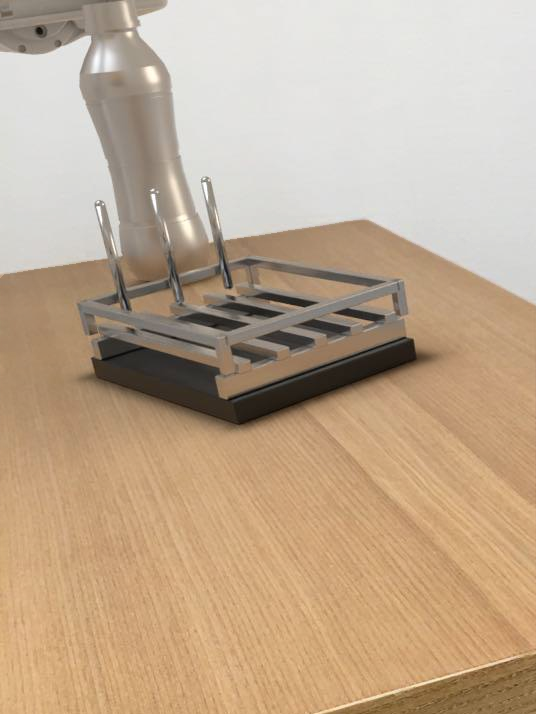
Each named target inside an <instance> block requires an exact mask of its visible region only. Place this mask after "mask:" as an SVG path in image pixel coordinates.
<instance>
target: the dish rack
mask: <svg viewBox="0 0 536 714" xmlns="http://www.w3.org/2000/svg"><path fill="white" fill-rule="evenodd" d="M200 184H201V189H202V193H203V198H204V204H205V207H206V212H207V216H208V221H209V225H210V229H211V230H210V231H211V235H212V239H213V244H214V249H215V253H216V258H217V262H218V263H213V264H210V265H207V266H206V267H203V268H199V269H195V270H192V271H188V272H184V273H181V274H179V273H178V269H177V265H176V260H175V256H174V252H173V248H172V243H171V239H170V235H169V230H168V226H167V222H166V217H165V213H164V209H163V204H162V200H161V196H160V192H159V190H158V189H157V188H152V189H150V191H149V194H150V199H151V203H152V207H153V211H154V216H155V220H156V224H157V228H158V233H159V237H160V241H161V245H162V250H163V254H164V258H165V262H166V267H167V271H168V275H169V277H166V278H162V279H159V280H155V281H148V282H145V283H141V284H137V285H134V286H130V287H127V285H126V282H125V277H124V274H123V273H124V272H123V269H122V265H121V260H120V257H119V252H118V249H117V246H116V245H117V244H116V241H115V237H114V233H113V230H112V225H111V221H110V218H109V214H108V210H107V206H106V205H107V204H106V203H105V201H104V200H101V199H97V200H95V202H94V206H93V207H94V209H95V213H96V217H97V221H98V225H99V229H100V233H101V236H102V240H103V244H104V249H105V253H106V256H107V261H108V264H109V268H110V272H111V276H112V280H113V284H114V289H115V291H111V292H108V293H104V294H101V295H96V296H93V297H89V298H85V299H81V300H78V301H76V306H77V310H78V313H79V318H80V321H81V324H82V328H83V332H84V335H85V336H88V337H91V336H95V335H97V334H99V335H100V336H97V337H94V338H91V339H90V344H91V347H92V351H93V355H94V356H92V357H90V360H91V364H92V368H93V372H94V374H95V377H97V378H100V379H103V380H105V381H109V382H112V383H114V384H118V385H121V386H123V387H126V388H130V389H133V390H135V391H138V392H142V393H145V394H147V395H149V396H152V397H153V396H154V397H156V398H159V399H162V400H165V401H168V402H172V403H174V404H177V405H181V406H183V407H186V408H189V409H192V410H195V411H198V412H201V413H204V414H207V415H210V416H212V417H215V418H219V419H222V420H225V421H228V422H230V423H234V424H237V425H240V424H243V423H245V422H249V421H251V420H253V419H257V418H259V417H261V416H264V415H267V414H270V413H272V412H276V411H278V410H281V409H284V408H286V407H289V406H292V405H294V404H297V403H300V402H302V401H305V400H307V399H311V398H314V397H316V396H319V395H322V394H324V393H327V392H329V391H333V390H335V389H337V388H341V387H343V386H346V385H348V384H351V383H354V382H357V381H360V380H362V379H364V378H367V377H370V376H373V375H376V374H378V373H382V372H383V371H386V370H389V369H392V368H394V367H398V366H400V365H403V364H405V363H409V362H410V361H413V360H416V359H417V352H416V346H415V345H416V344H415V339H414V338H412V337H407V329H406V321H405V318H404V316H407V315H409V307H408V300H407V294H406V287H405V286H406V285H405V280H404V279H402V278H397V277H389V276H384V275H378V274H373V273H365V272H361V271H360V272H359V271H352V270H346V269H342V268H341V269H340V268H334V267H330V266H329V267H328V266H322V265H316V264H309V263H304V262H297V261H291V260H285V259H279V258H273V257H266V256H261V255H255V254H247V255H243V256H240V257H236V258H232V259H228V254H227V248H226V244H225V240H224V235H223V229H222V225H221V221H220V216H219V212H218V207H217V202H216V198H215V194H214V193H215V192H214V187H213V184H212V180H211V178H210V177H209V176H202V177H201V179H200ZM241 269H244V270H245V271H244V272H245V275H246V280H247V282H242V283H238V284H235V291H236V294H237V295H230V294H226V293H221V292H216V291H211V292H210V291H209V292H206V293H204V294H202V298H203V303H204V304H206V305H198V304H193V303H189V302H185V295H184V291H183V286H185V285H187V284H190V283H196V282H198V281H202V280H205V279H209V278H212V277H216V276H219V275H220V276H221V282H222V286H223V288H224V289H225V290H226V291H231V290H232V289H233V288H234V282H233V278H232V273H231V272H234V271H237V270H241ZM258 269H262V270H263V269H264V270H269V271H273V272H281V273H284V274H285V273H286V274H292V275H298V276H303V277H310V278H316V279H321V280H327V281H332V282H337V283H343V284H349V285H355V286H361V287H366V288H363V289H359V290H356V291H353V292H349V293H346V294H344V295H340V296H336V297H333V298H328V297H324V296H319V295H313V294H307V293H302V292H297V291H292V290H286V289H282V288H277V287H270V286H265V285H261V280H260V275H259V270H258ZM170 289H171V292H172V296H173V300H174V302H172V303H169V304H168V307H169V313H170V315H169V316H165V315H160V314H157V313H153V312H149V311H141V312H137V311H133V309H132V305H131V300H134V299H137V298H140V297H145V296H148V295H152V294H155V293H158V292H162V291H166V290H170ZM390 295H391V300H392V306H393V310H391V309H386V308H382V307H381V308H380V307H376V306H371V305H366V303H368V302H371V301H374V300H378V299H380V298H384V297H387V296H390ZM271 302H275V303H280V304H285V305H290V306H295V307H299V309H298V308H294V307H290V306H284V305H279V304H274V303H271ZM364 303H365V304H364ZM116 304H119V307H117V306H113V305H116ZM330 314H334V315H338V316H343V317H347V318H352V319H353V318H354V319H358V320H363V321H368V322H371V323H368V324H366V325H363V323H362V321H357V320H351V319H346V318H341V317H337V316H332V315H330ZM95 317H99V318H103V319H106V320H110V321H113V322H110V321H107V322H103V323H100V324H97V322H96V319H95ZM115 322H117V323H115ZM118 323H121V324H118ZM123 324H125V325H123ZM127 325H129V326H127ZM130 326H131V327H130Z"/></svg>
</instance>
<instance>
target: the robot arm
mask: <svg viewBox="0 0 536 714" xmlns="http://www.w3.org/2000/svg"><path fill="white" fill-rule="evenodd" d="M116 1H124V0H0V52H2V53H13V54H22V55H34V56H36V55H44V54H48V53H49V54H50V53H51V52H54V51H56V50H58V49H59V48H61V47H65V46H68V45H70V44H72V43H74V42H77V41H78V40H80V39H82V38H85V37H87V36H91V34H90V33H89V32H88V33H86V32H85V28H84V26H85V21H84V17H83V12H82V5H90V4H98V3H107V2H116ZM133 1H134V3H135V8H136V12H137V17H142V16H146V15H148V14H152V13H154V12H157V11H160V10H163V9H165V8H166V7H167V6H168V3H169V0H133Z"/></svg>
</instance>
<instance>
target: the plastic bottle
mask: <svg viewBox="0 0 536 714" xmlns="http://www.w3.org/2000/svg"><path fill="white" fill-rule="evenodd" d="M82 12H83V17H84V21H85V26H84V28H85V32H86V33H88V32H89V33H90V34H91V35H90V45H89V46H88V49H87V52H86V54H85V56H84V58H83V62H82V64H81V68H80V70H79V80H78V81H79V84H78V85H79V90H80V93H81V96H82V99H83V100H84V102H85V106H86V109H87V112H88V114H89V117H90V119H91V122H92V124H93V126H94V129H95V131H96V134H97V137H98V139H99V142H100V145H101V146H100V147H101V149H102V152H103V155H104V159H105V160H106V161H107V164H108V165H107V168H108V171H109V175H110V177H111V183H112V188H113V189H112V190H113V194H114V200H115V201H114V202H115V205H116V212H117V217H118V221H119V224H118V238H119V246H120V253H121V255H122V258H123V260H124V262H125V264H126V267H127V270H128V272H130V273H131V275H133V277H135V279H137V280H139V281H144V282H147V281H148V282H151V281H155V280H159V279H162V278H166V277H169V275H168V271H167V267H166V262H165V258H164V254H163V250H162V245H161V241H160V237H159V233H158V228H157V224H156V220H155V216H154V211H153V207H152V203H151V199H150V194H149V191H150V189H152V188H157V189H158V190H159V192H160V196H161V200H162V204H163V209H164V213H165V217H166V222H167V226H168V230H169V235H170V239H171V243H172V248H173V252H174V256H175V260H176V265H177V269H178V273H179V274H181V273H184V272H188V271H192V270H195V269H199V268H203V267H206V266H208V263H209V260H210V256H211V255H210V241H209V240H210V239H209V237H208V234H207V232H206V228H205V226H204V223H203V221H202V218H201V216H200V214H199V213H198V212H197V211H196V210H197V208H196V204H195V201H194V199H193V195H192V192H191V189H190V186H189V183H188V179H187V176H186V172H185V170H184V164H183V160H182V155H180V142H179V137H178V131H177V124H176V115H175V114H176V113H175V104H174V102H175V101H174V93H173V91H172V90H173V85H172V84H173V83H172V78H171V74H170V72H169V69H168V68H167V66H166V64H165V62H164V61H163V60H162V59H161V57H160V56H159V55H158V54H157V53H156V51H154V49H153V48H152V47H151V46H150V45H149V44H147V42H146V41H144V39H143V38H142V37H141V35H140V33H139V31H138V27H142V25H141V20H140V19H139V18H138V17H139V16H138V17H137V12H136V8H135V3H134V1H133V0H124V1H116V2H107V3H98V4H90V5H82Z"/></svg>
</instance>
